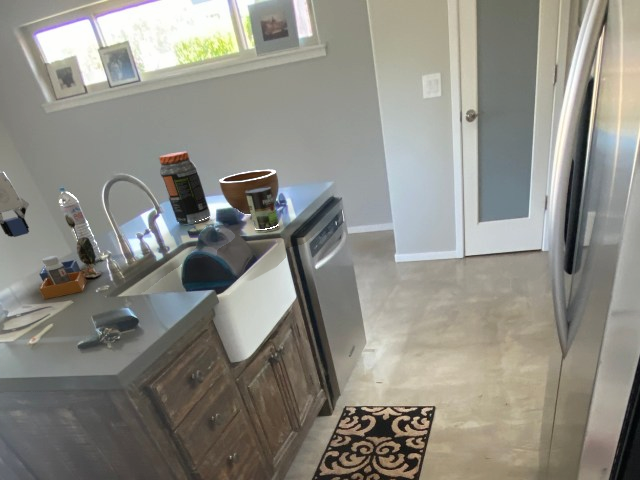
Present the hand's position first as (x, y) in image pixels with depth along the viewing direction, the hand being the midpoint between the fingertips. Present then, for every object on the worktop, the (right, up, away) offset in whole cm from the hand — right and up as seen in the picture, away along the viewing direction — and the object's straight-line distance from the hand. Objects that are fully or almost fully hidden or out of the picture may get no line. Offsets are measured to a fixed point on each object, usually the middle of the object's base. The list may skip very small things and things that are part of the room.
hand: (18, 233), depth 172 cm
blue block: (0, 0, 0) cm, 0 cm away
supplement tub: (+34, +42, +67) cm, 86 cm away
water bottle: (+8, +6, +32) cm, 34 cm away
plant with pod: (+16, -7, +16) cm, 24 cm away
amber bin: (+13, -17, +5) cm, 22 cm away
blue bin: (+3, -6, +19) cm, 20 cm away
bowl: (+65, +41, +61) cm, 98 cm away
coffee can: (+75, +22, +39) cm, 87 cm away
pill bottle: (+13, -16, +5) cm, 21 cm away
